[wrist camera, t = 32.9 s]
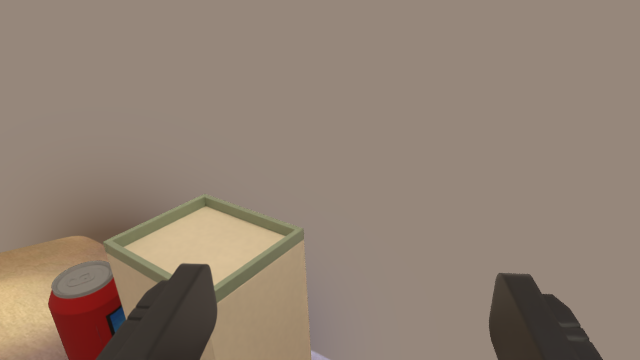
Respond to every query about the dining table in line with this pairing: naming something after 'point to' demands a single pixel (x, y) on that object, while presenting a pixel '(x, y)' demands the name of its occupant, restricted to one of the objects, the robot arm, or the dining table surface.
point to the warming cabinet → (225, 274)
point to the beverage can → (86, 308)
